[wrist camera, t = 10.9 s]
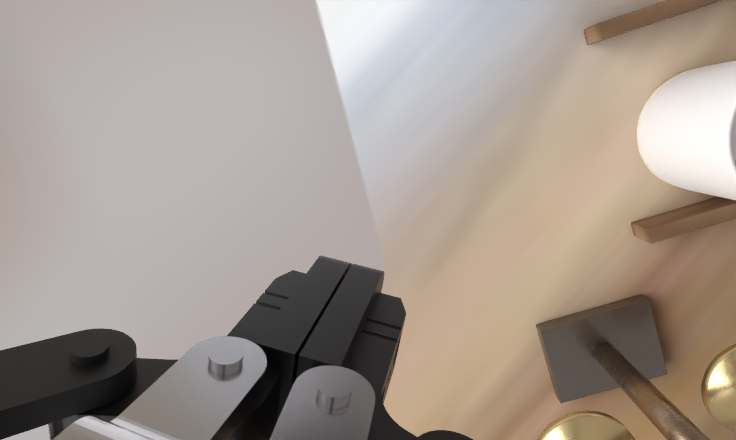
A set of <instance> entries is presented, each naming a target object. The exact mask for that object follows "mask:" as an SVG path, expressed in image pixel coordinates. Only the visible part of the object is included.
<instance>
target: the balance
mask: <svg viewBox="0 0 736 440" xmlns="http://www.w3.org/2000/svg"><path fill="white" fill-rule="evenodd" d="M536 327H537V331H538V334H539V338H540V341H541V345H542V348H543V352H544V355H545V359H546V362H547V366H548V369H549V373H550V376H551V380H552V383H553V387H554V390H555V394H556V396H557V398H558V399H559V401H560V402H561V403H563V402H567V401H571V400H574V399H578V398H582V397H585V396H589V395H593V394H596V393H600V392H604V391H607V390H611V389H614V388H618V387H621V388H622V389H623V391H624V392H625V393H626V394H627V395H628V396H629V397H630V398H631V400H632V401H633V402H634V403H635V404H636V405H637V406H638V407H639V408H640V410H641V411H642V412H643V413H644V414H645V415H646V416H647V417H648V419H649V420H650V421H651V422H652V423H653V424H654V425H655V426H656V427H657V429H658V430H659V431H660V432H661V433H662V434H663V435H664V436H665V438H666V439H667V440H710V439H708V438H707V437H706V436H705V435H704V434H703V433H702V432H701V431H700V430H699V429H698V428H697V427H696V426H695V425H694V424H693V423H692V422H691V421H690V420H689V419H688V418H687V417H686V416H685V415H684V414H683V413H682V412H681V411H680V410H679V409H678V408H677V407H676V406H675V405H673V404H672V403H671V402H670V401H669V400H668V399H667V398H666V397H665V396H664V395H663V394H662V393H661V392H660V391H659V390H658V389H657V388H656V387H655V386H654V385H653V384H652V383H651V382H650V381H649V380H648V379H651V378H655V377H658V376H662V375H666V374H667V370H666V366H665V362H664V357H663V353H662V349H661V345H660V341H659V337H658V333H657V329H656V325H655V321H654V317H653V313H652V309H651V305H650V301H649V299H648V298H646V297H645V296H643V295H642V294H641V295H637V296H634V297H630V298H627V299H623V300H620V301H616V302H613V303H610V304H606V305H603V306H599V307H596V308H592V309H589V310H585V311H582V312H578V313H575V314H571V315H568V316H565V317H561V318H558V319H554V320H551V321H547V322H544V323H540V324H537V325H536ZM701 393H702V399H703V402H704V405H705V407H706V409H707V410H708V412H709V413H710V414H711V416H712V417H713V418H714V419H715V420H717V421H718V422H719V423H720V424H721V425H722V426H724V427H725V428H727V429H728V430H730V431H732V432H735V433H736V344H734V345H732V346H730V347H728V348H727V349H725V350H723V351H722V352H721V353H720V354H718V355H717V356H716V357H715V358H714V359H713V361H712V362H711V363H710V364H709V366H708V368H707V370H706V372H705V374H704V377H703V380H702V387H701ZM538 440H635V439H634V437H633V436H632V434H631V433H630V432H629V431H628V429H627V428H626V427H625V426H624V425H623V424H622V423H621V422H620V421H618V420H617V419H615V418H614V417H612V416H610V415H607V414H605V413H601V412H596V411H578V412H573V413H570V414H567V415H564V416H562V417H560V418H558V419H557V420H555V421H553V422H552V423H551V424H550V425H548V427H547V428H546V429H545V430H544V431H543V432H542V434H541V435H540V437H539V438H538Z"/></svg>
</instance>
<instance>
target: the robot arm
mask: <svg viewBox="0 0 736 440" xmlns="http://www.w3.org/2000/svg"><path fill="white" fill-rule="evenodd" d="M383 280H384V271H380V270H376V269H371V268H368V267H364V266H360V265H356V264H351V263H348V262H344V261H340V260H336V259H332V258H328V257H324V256H319V258H318V259H317V260H316V262H315V263H314V264H313V266H312V267H311V268H310V270H309V271H308V272H307V274H305V273H301V272H297V271H291V272H288V273H287V274H284V275H282V276H280V277H278V278H276V279H275V280H274V281H273V282H272V283H271V285H270V286H269V287H268V288H267V289H266V290H265V293H263V294H262V295H261V296H260V298H259V299H258V300H257V302H256V304H254V305H253V306H252V307H251V308H250V309H249V311H248V312H247V313H246V314H245V315H244V317H243V318H242V319H241V320H240V321H239V322H238V324H237V325H236V326H235V327H234V328H233V330H232V331H231V332H230V333H229V334H228V336H224V337H215V338H211V339H207V340H205V341H202V342H200V343H198V344H196V345H195V346H194V347H192V348H191V349H190V350H189V351H188V352H187V353H186V354H185V355H183V356H182V357H181V358H180V359H179V360H164V359H141V358H137V355H136V345H135V342H134V341H133V340H132V338H130V337H129V336H128V335H126V334H124V333H123V332H120V331H116V330H111V329H89V330H84V331H79V332H75V333H70V334H66V335H62V336H58V337H54V338H51V339H46V340H42V341H38V342H34V343H30V344H26V345H21V346H17V347H13V348H9V349H5V350H1V351H0V440H1V439H4V438H7V437H10V436H13V435H16V434H19V433H22V432H25V431H28V430H31V429H34V428H37V427H40V426H43V425H46V424H48V425H49V432H50V440H473V439H471V438H469V437H467V436H465V435H462V434H460V433H456V432H452V431H445V430H436V431H430V432H427V433H424V434H422V435H421V436H419V437H416V436H414V435H413V434H411V433H409V432H408V431H406V430H405V429H403V428H402V427H400V426H399V425H398V424H397V423H396V422H395V421H394V420H393V419H392V418H391V417H390V416H389V414H388V413H387V411H386V409H385V407H384V405H383V403H384V399H385V396H386V393H387V390H388V386H389V383H390V380H391V376H392V373H393V370H394V366H395V361H396V357H397V352H398V347H399V343H400V338H401V334H402V329H403V325H404V320H405V316H406V312H405V309H404V306H403V303H402V301H401V298H397V297H393V296H390V295H386V294H382V293H381V290H382V285H383Z"/></svg>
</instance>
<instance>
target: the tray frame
mask: <svg viewBox="0 0 736 440" xmlns="http://www.w3.org/2000/svg"><path fill="white" fill-rule="evenodd" d="M718 1H721V0H667V1H664V2H661V3H658V4H655V5H652V6H649V7H646V8H643V9H640V10H637V11H634V12H631V13H628V14H625V15H622V16H619V17H616V18H613V19H610V20H607V21H604V22H601V23H598V24H596V25H594V26H592V27H590V28H588V29H586V30H584V34H585V38H586V42H587V45H589V44H592V43H595V42H598V41H601V40H604V39H607V38H610V37H613V36H616V35H619V34H622V33H625V32H628V31H631V30H634V29H637V28H640V27H643V26H646V25H649V24H652V23H655V22H658V21H661V20H664V19H667V18H670V17H673V16H676V15H679V14H682V13H685V12H688V11H691V10H694V9H697V8H700V7H703V6H706V5H709V4H712V3H715V2H718ZM735 218H736V200H732V199H727V198H722V197H715V198H712V199H709V200H705V201H702V202H699V203H695V204H692V205H689V206H685V207H682V208H679V209H675V210H672V211H669V212H665V213H662V214H659V215H655V216H652V217H649V218H645V219H642V220H639V221H636V222H632V223H631V225H632V229H633V233H634V236H636V237H638V238H640V239H642V240H645V241H647V242H649V243H654V242H658V241H661V240H664V239H668V238H671V237H675V236H678V235H681V234H685V233H688V232H691V231H695V230H698V229H702V228H705V227H708V226H712V225H715V224H718V223H722V222H725V221H728V220H732V219H735Z"/></svg>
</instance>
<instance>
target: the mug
mask: <svg viewBox="0 0 736 440" xmlns="http://www.w3.org/2000/svg"><path fill="white" fill-rule="evenodd" d="M637 143H638V148H639V151H640V155H641V157H642V159H643V161H644V163H645V164H646V166H647V167H648V168H649V170H650V171H651V172H652V173H653V174H654V175H656V176H657V177H658V178H660V179H661V180H663V181H664V182H666V183H668V184H670V185H673V186H675V187H679V188H682V189H686V190H690V191H695V192H699V193H704V194H708V195H713V196H718V197H722V198H727V199H732V200H736V61H731V62H725V63H720V64H714V65H709V66H703V67H699V68H695V69H691V70H688V71H685V72H682V73H680V74H678V75H676V76H674V77H672V78H670V79H669V80H667V81H666V82H664V83H663V84H662V85H661V86H659V87H658V88H657V89H656V90H655V91H654V92H653V94H652V95H651V96H650V97H649V99H648V100H647V102H646V104H645V106H644V107H643V109H642V112H641V115H640V117H639V122H638V127H637Z"/></svg>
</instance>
